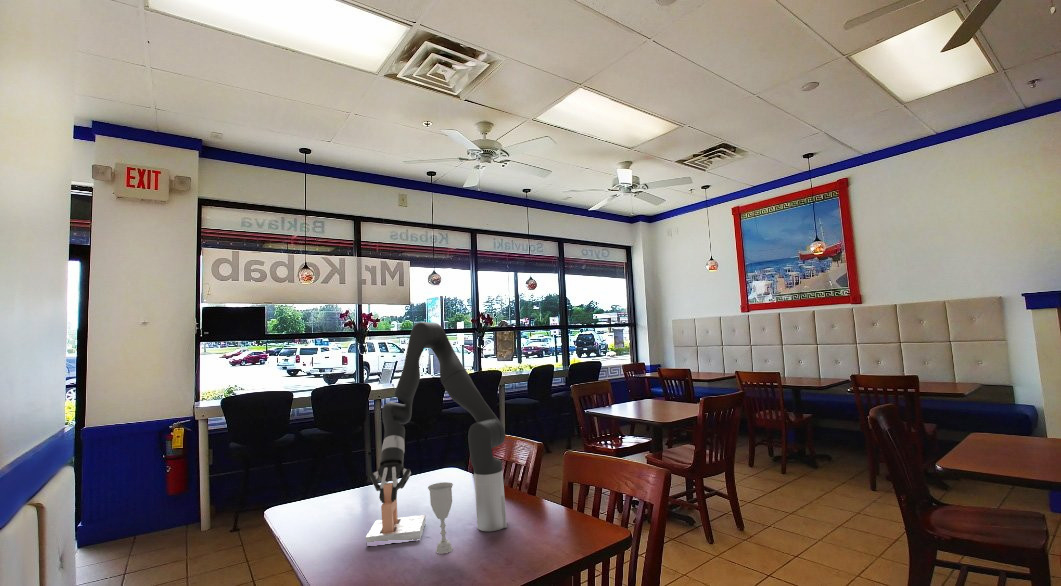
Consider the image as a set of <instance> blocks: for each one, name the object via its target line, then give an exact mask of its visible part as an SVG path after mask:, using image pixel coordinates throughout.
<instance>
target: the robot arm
mask: <svg viewBox="0 0 1061 586" xmlns="http://www.w3.org/2000/svg"><path fill="white" fill-rule="evenodd" d="M409 334H410V335H409V339H408V343H407V349H406V353H405V359H404V365H403V368H402V371H401V375H400V377H399V380H398V382H397V385H396V387H395V391H394V397H395V398H396V399H397V400H400V401H402V402H403V403H404V404H403V403H397V402H395V401H388V402H387V403H385V404H384V405H383V407H382V410H381V418H382V421H383V427H384V429H383V430H384V435H383V436H384V437H383V443H382V446H381V453H380V454H381V455H380V460H379V461H380V463H379V467H378V469H377V471H374V472H370V473H369V477H370V479H371V482H372V484H373V486H374V488H375V491H376V492H379V501H380V502H381V503H382V504H383V503H384V489H383V486H384V485H385V484H386V483H390V482H392V483H393V488H392V493H391V501H392V502H394V500H396V498H398V497H397V496H398V490H399V489H400V490H401V489H404V487H405V485H406V484H407V482H408V480H409V479H410V477H411V475H412V472H411V469H410V468H405V466H404V461H405V459H404V458H405V451H406V450H405V438H406V429H405V426H404V425H406V424H408V423H409V422H410V421H411V419H412V414H413V402H414V397H415V395H416V392H417V390H418V387H419V383H420V380H421V372H420V359H421V356H422V353H423V352H424V349H431V351H432V352H433V353H434V354H435V356H436V358H437V360H438V363H439V378H440V382H441V384H442V386H443V387H444V389H445V391H446V393H447V394H448V397H450V398H451V399H452V401H454V402H455V403H456V404H458V405H459V406H460V407H461V408H463V409H464V410H466V411H467V412H468V413H469V414H470V415H471V416H472V417H473V418H474V420H475V422H474V423H473V424H471V425H470V427H469V429H468V436H467V438H468V439H467V440H468V449H469V450H468V451H469V457H470V462H471V465H472V467H473V475H474V490H475V491H474V492H475V506H476V507H475V508H476V523H477V529H478V530H480V532H481V531H482V532H495V531H500V530H502V529H507V528H508V523H507V511H506V509H507V508H506V497H505V487H504V474H503V463H502V460H501V459H499V458H495V457H494V456H493V455H494V454H493V449H494V448H496V447H499V446H501V445H502V444H503V443H504V441H505V439H506V432H505V428H504V426H503V423H502V422H501V420H500V419H499V418H498V417H497V415H496V413H495V412H493V410H492V409H491V407H490V406H489V405H488V403H487V402H486V401H485V399H484V397H483V396H482V395H481V392H480V391H479V390H478V389H477V387H476V385H475V384H474V381H473V380H472V378H471V376H470V375H469V373H468V371H467V370H466V368H465V367H464V365H463V364H462V362H461V361H460V359H459V357H458V356H457V354H456V352H455V350H454V348H453V346H452V344H451V342H450V340H449V337H448V336H447V334H446V332H445V329H444V328H443V327H442V325H440V324H438V323H436V322H431V321H430V322H426V321H420V322H417V323H416V324H414V326H413V327H412V329H411V331H410V333H409ZM401 475H402V477H401ZM378 477H380V478H381V482H380V484H379V483H378V481H377V480H378ZM400 477H401V479H400V480H399V478H400Z"/></svg>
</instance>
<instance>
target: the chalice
mask: <svg viewBox="0 0 1061 586" xmlns="http://www.w3.org/2000/svg"><path fill="white" fill-rule="evenodd" d="M453 485H454V484H453V483H452V482H444V481H443V482H437V483H432V484H430V485H429V486H428V487H427V490H429V500H430V501H429V502H430V507H431V509H432V512H433V513H434V514H435V517H436V518H437V519H438V520H440V526H439V527H440V528H441V531H440V533H439V534H440V535H441V539H440V541H438V542H437V546H436V550H435V551H436V552H438V553H446V554H449V553H451V552H453V550H454V547H453V546H452V544H451V541H450V540H449V539H447V538H446V534H447V531H446V523H445V520H446V519H447V518H448V517H449V515H450V514H449V513H450V511H451V507H452V504H453V491H452V488H453ZM452 549H453V550H452ZM450 551H451V552H450ZM436 552H435V553H436ZM448 552H449V553H448Z"/></svg>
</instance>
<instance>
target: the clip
mask: <svg viewBox="0 0 1061 586" xmlns="http://www.w3.org/2000/svg"><path fill="white" fill-rule="evenodd" d="M392 488H393V482H388V483H386V484H385V485H384V486H383V489H384V503H382V504H381V505H380V507H381V510H380V511H381V520H382V532H383V533H391V532H394V524H398V518H399V517H398V516H399V515H398V501H397V500H398V499H397V498H398V497H397V498H396V500H394V502H392V501H391V493H392Z"/></svg>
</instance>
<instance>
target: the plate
mask: <svg viewBox="0 0 1061 586" xmlns="http://www.w3.org/2000/svg"><path fill="white" fill-rule="evenodd" d="M425 522H426V515H425V514H420V515H411V516H404V517H398V524H394V532H391V533H383V532H382V519H377V520H375V521H374V523H373V525H372V526H371V527H370V529H369V531H368V533H367V534H366V536H365V543H366V542H374V541H388V540H412V539H413V540H417V539H420V538H421V539H422V537H421V535H422V536H423V534H422V532H423V533H424V531H423V529H424V530H425V528H424V525H425V526H426V524H425Z"/></svg>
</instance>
